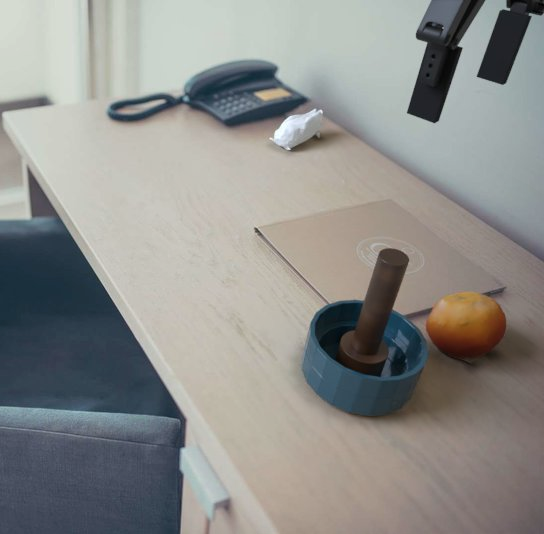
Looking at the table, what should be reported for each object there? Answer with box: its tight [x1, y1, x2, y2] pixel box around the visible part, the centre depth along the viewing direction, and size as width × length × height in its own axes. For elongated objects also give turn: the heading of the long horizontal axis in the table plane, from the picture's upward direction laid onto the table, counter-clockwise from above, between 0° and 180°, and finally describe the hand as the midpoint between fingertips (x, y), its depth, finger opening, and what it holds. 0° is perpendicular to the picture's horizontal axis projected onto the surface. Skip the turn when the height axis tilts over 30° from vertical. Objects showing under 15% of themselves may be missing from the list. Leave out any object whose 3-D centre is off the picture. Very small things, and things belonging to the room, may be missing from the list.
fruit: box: [425, 291, 507, 365], centre depth 74 cm, size 8×8×8 cm
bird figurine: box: [269, 108, 324, 151], centre depth 114 cm, size 5×7×10 cm
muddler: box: [335, 247, 410, 377], centre depth 66 cm, size 5×5×16 cm
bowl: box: [301, 299, 430, 417], centre depth 69 cm, size 12×12×6 cm
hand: (458, 97), depth 61 cm, fingers open, 13 cm apart
